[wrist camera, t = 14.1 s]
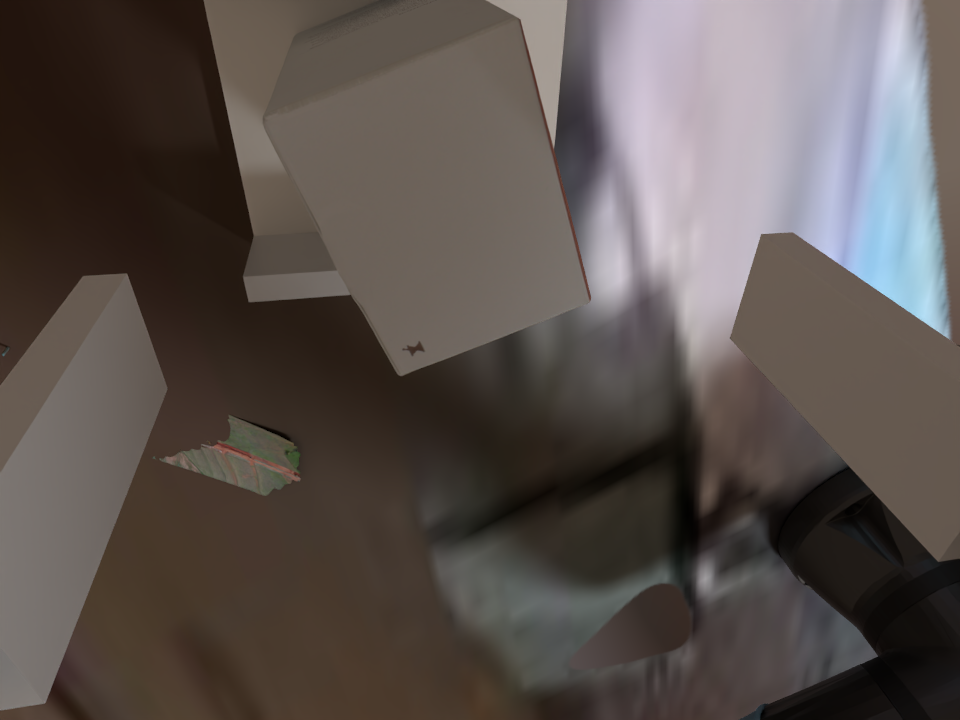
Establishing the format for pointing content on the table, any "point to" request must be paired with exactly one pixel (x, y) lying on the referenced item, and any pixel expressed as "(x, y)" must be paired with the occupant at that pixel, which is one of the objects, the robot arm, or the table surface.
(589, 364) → the table surface
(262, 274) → the end holder
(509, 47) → the small box
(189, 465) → the map
